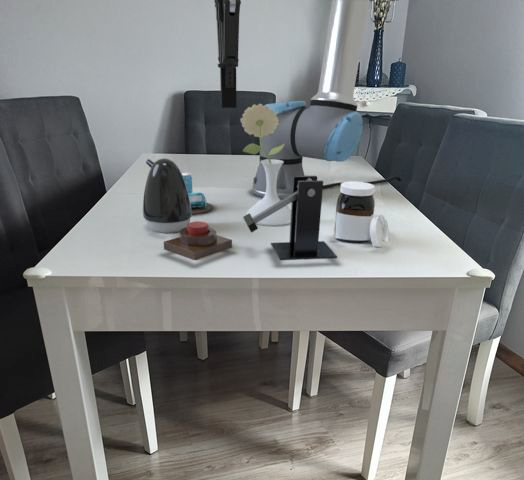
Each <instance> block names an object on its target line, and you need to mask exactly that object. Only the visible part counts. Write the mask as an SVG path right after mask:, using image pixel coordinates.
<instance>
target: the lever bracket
mask: <svg viewBox="0 0 524 480" xmlns="http://www.w3.org/2000/svg"><path fill="white" fill-rule="evenodd" d="M308 178H310V179H312V180H313V181H305V180H307V179H308ZM297 185H298V188H297ZM323 185H324V181H323V180H318V176H317V175H305V176H293V186H292V194H293V193H294V192H296V191H297V199H296V200H295V201H293V202H291V203H290V204H291V205H290V206H291V207H290V209H291V222H290V224H289V241H287V242H270V246H271V248H272V249H273V251H274V253H275V254H276V257H277V258H278V259H279V261H296V260H297V261H299V260H323V259H325V260H327V259H338V256H337V255H336V254H335V252H334V251H333V250H332V249H331V248H330V246H329V245H328V244H327V243H326V241H324V240H321V241H320V240H319V238H320V227H321V217H322V201H323V191H324V188H323Z"/></svg>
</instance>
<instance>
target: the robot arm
mask: <svg viewBox="0 0 524 480" xmlns="http://www.w3.org/2000/svg"><path fill="white" fill-rule="evenodd" d="M213 1H214V8H215V17H216V18H215V20H216V32H217V33H216V34H217V52H218V54H217V55H218V57H217V60H218V63H217V68H219V75H220V76H219V77H220V78H219V79H220V107H221V108H222V109H237V107H238V106H237V105H238V104H237V68H239V61H240V59H239V45H240V44H239V40H240V10H241V5H242V1H241V0H213ZM370 1H371V0H331V6H330V12H329V18H328V24H327V31H326V36H325V37H326V38H325V43H324V44H325V46H324V52H323V56H322V57H323V58H322V63H321V71H320V78H319V82H318V83H319V84H318V90H317V93H316V94H315V95H314V96H312V97H311V98H310V103H309V107H307V103H306V101H305V100H296V101H286V102H275V103H267V104H264V105H263V106H265V105H268V107H269V108H271V109H274V110H275V113H276V114H277V117H278V123H279V125H278V126H276V127H277V128H276V129H275V130H274V133H273V134H268V136H263V137H261V143H262V146H263V149H264V150H265V152H266V154H267V155H268V153H269V152H270V151H271V150H272V149H273V148H275V147H279V146H281V145H283V144H284V143H285V144H284V147H283V148H282V149H281V150H280V151H279V152H278V153H276V154H272V155H268V157H269V159H276V160H282V161H284V163H283V164H282V165H281V167H280V169H279V172H278V176H277V184H276V192H277V196H278V198H279V199H280V200H283V199H284V198H286V197H288V196H289V195H291V194H292V186H293V176H306V175H305V171H304V167H303V158H307V159H308V158H309V159H314V160H316V159H317V160H321V161H322V160H323V161H326V162H345V161H347V160H349V159H350V158H351V157H352V156H353V154H354V153H355V152H356V150H357V148H358V146H359V144H360V141H361V138H362V135H363V129H364V125H363V123H364V121H363V117H362V115H361V113H359V111H358V106H359V105H358V103H357V102H356V100H355V98H354V92H355V86H356V80H357V75H358V70H359V64H360V57H361V53H362V46H363V41H364V36H365V29H366V24H367V19H368V13H369V7H370ZM269 108H268V109H269ZM259 146H260V147H261V145H260V144H259ZM266 159H268V158H267V157H266V155H265V153H264V152H263V150H262V148H261V150H260V151H259V161H258V167H257V170H256V173H255V176H254V177H253V179H252V181H253V183H252V187H251V189H252V190H251V192H252V194H253V195H255V196H257V197H260V198H263V197H264V196H265V193H266V173H265V169H264V167H263V165H262V163H261V160H266ZM393 180H397V181H398V182H402V181H403V179H402V178H401V177H400V176H398V175H393V176H391V177H388V178H384V179H379V180H372V181H363V182H364V183H369V184H372V185H378V184H382V183H389V182H391V181H393ZM344 182H345V181H343V182H342V181H341V182H334V183H328V184H323V189H328V188H333V187H341V184H342V183H344Z"/></svg>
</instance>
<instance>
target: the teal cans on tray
mask: <svg viewBox="0 0 524 480" xmlns="http://www.w3.org/2000/svg"><path fill="white" fill-rule="evenodd" d="M180 172H181V174H182V176H183V179H184V181H185V184H186V187H187V190H188V194H189V198H190V203H191V209H192V216H197V215H204V214H208V213H210V212H211V211H212V210H213V206H212V204H210V203H208V201H207V195H206V193H205V192H203V193H202V192H201V191H199V192H193V176H192V173H191V172H189V171H188V172H186V171H180Z"/></svg>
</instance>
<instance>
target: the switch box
mask: <svg viewBox="0 0 524 480" xmlns="http://www.w3.org/2000/svg"><path fill="white" fill-rule="evenodd" d="M217 234H218V232H217V230H216V229H215V228H213V227H209V226H208V234H205V235H190V234H187V227H186V228H183V229H181V230H180V231H179V232H178V237H175V238H171V239H167V240H165V241H163V250H165V251H167V252H171V253H173V254H176V255H179V256H181V257H184V258H188V259H190V260H193V261H198V260H200V259H204V258H205V257H209V256H211V255H215V254H217V253H220V252H223V251H225V250H229V249H231V248H233V239H231V238H227V237H225V236H221V235H217Z"/></svg>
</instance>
